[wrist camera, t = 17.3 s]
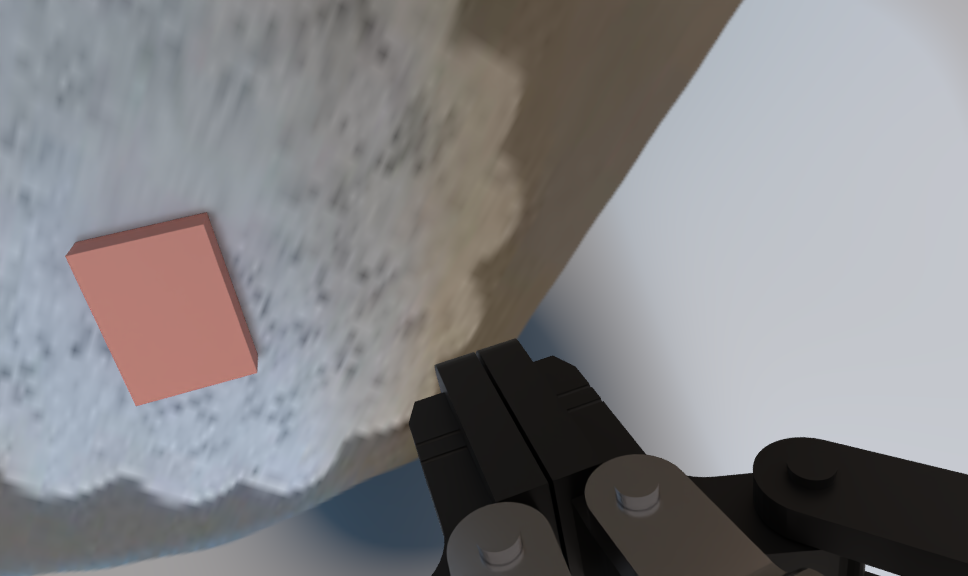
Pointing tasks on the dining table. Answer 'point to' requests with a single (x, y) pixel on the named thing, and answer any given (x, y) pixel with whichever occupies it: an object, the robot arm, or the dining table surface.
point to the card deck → (165, 307)
